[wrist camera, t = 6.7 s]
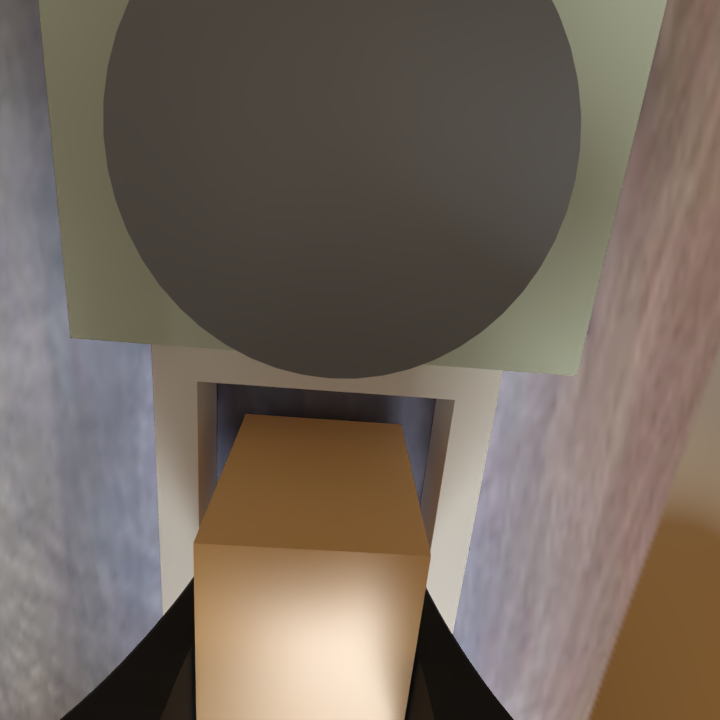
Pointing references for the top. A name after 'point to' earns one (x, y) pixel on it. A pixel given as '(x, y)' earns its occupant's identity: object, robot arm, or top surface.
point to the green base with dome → (340, 210)
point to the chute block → (309, 574)
